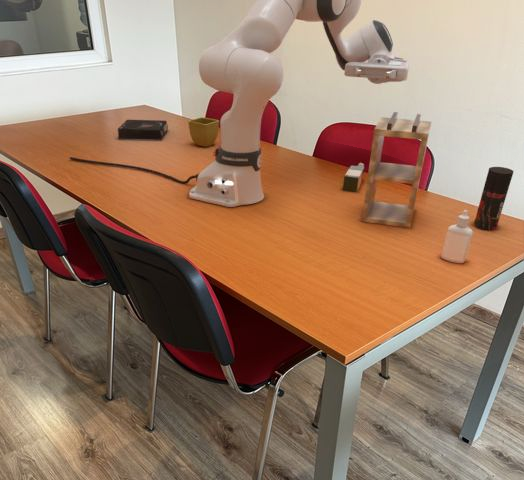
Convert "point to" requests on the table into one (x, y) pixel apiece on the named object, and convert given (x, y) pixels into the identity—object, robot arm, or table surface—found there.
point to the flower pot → (203, 131)
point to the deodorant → (493, 198)
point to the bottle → (353, 178)
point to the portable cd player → (142, 130)
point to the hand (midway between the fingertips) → (373, 74)
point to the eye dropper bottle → (457, 240)
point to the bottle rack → (394, 171)
